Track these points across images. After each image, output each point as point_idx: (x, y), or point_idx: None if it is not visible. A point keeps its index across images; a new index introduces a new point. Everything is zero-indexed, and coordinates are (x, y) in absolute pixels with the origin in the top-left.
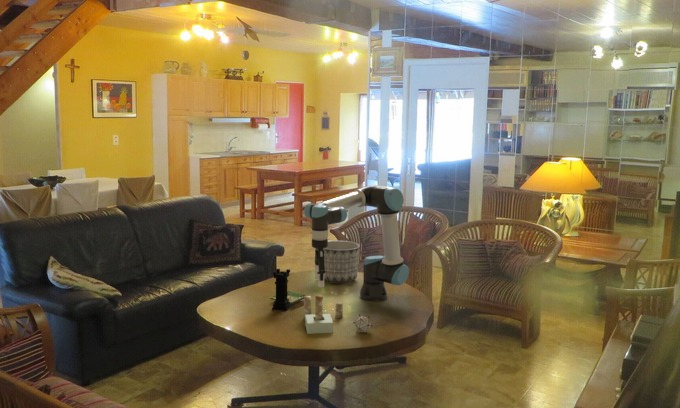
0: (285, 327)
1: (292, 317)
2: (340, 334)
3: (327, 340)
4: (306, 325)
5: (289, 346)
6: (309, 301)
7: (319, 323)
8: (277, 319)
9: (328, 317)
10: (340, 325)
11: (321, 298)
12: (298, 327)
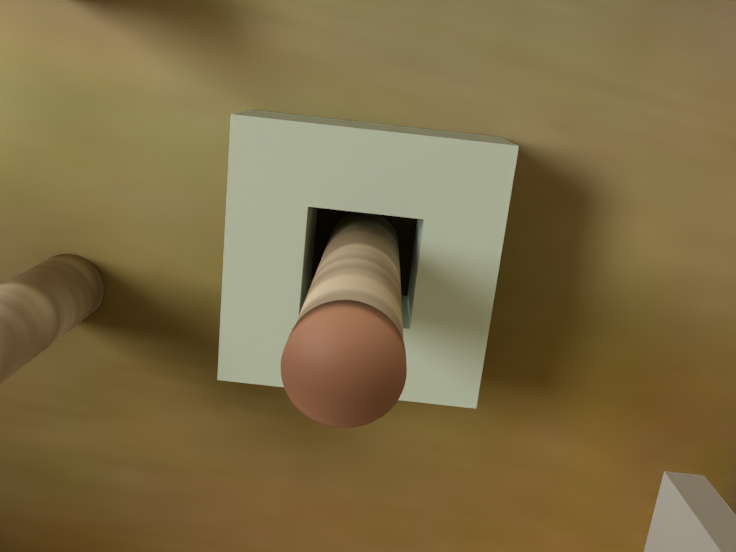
0: (278, 504)
1: (42, 410)
2: (562, 74)
3: (667, 233)
4: None
5: None
6: (6, 336)
7: (493, 291)
8: (80, 532)
9: (348, 158)
10: (323, 8)
11: (400, 335)
12: None
